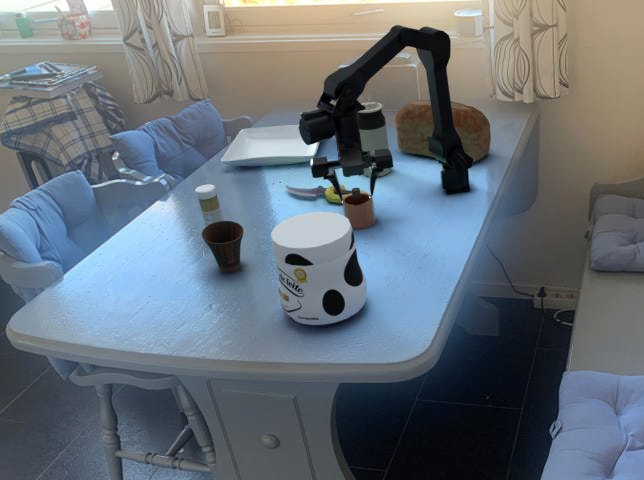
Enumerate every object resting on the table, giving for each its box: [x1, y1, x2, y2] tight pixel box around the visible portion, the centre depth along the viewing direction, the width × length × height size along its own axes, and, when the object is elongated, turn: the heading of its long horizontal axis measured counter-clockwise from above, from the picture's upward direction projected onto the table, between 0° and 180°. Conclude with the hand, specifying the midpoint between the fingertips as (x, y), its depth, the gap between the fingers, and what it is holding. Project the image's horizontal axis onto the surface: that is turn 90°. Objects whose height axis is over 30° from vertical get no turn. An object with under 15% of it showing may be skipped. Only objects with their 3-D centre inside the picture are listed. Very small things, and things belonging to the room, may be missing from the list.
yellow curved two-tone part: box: [284, 184, 369, 204], centre depth 197 cm, size 8×3×25 cm
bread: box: [393, 99, 492, 163], centre depth 212 cm, size 12×28×14 cm, turn 59°
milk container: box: [270, 211, 368, 328], centre depth 148 cm, size 17×17×18 cm
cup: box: [201, 220, 245, 274], centre depth 166 cm, size 9×9×10 cm
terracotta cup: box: [341, 193, 376, 230], centre depth 183 cm, size 7×7×6 cm
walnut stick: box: [351, 187, 362, 205], centre depth 182 cm, size 2×2×8 cm
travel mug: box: [357, 101, 392, 178], centre depth 204 cm, size 8×8×18 cm
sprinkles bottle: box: [194, 183, 225, 227], centre depth 178 cm, size 5×5×13 cm
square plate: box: [220, 124, 321, 167], centre depth 225 cm, size 27×27×4 cm
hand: (356, 197), depth 180 cm, fingers open, 7 cm apart
